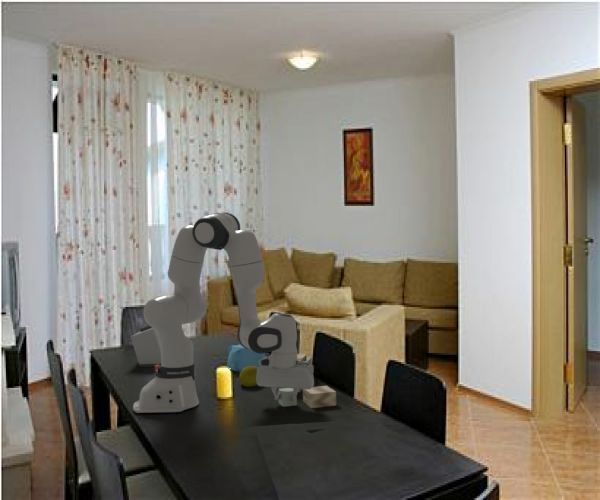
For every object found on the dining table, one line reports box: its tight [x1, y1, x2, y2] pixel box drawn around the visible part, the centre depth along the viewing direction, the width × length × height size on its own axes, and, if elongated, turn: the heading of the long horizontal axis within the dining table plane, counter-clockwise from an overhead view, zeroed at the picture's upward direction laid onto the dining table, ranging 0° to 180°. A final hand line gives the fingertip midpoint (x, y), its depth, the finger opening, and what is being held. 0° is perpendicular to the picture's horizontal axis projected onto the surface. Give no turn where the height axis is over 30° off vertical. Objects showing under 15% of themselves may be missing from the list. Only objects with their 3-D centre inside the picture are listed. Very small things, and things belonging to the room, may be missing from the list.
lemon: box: [238, 366, 258, 388], centre depth 239 cm, size 11×8×8 cm
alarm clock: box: [130, 324, 161, 368], centre depth 277 cm, size 20×16×20 cm
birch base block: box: [302, 385, 337, 409], centre depth 213 cm, size 9×9×5 cm
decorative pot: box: [226, 344, 266, 373], centre depth 263 cm, size 16×16×14 cm
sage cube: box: [277, 388, 298, 408], centre depth 213 cm, size 5×5×5 cm
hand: (285, 400), depth 211 cm, fingers closed on sage cube, 4 cm apart
